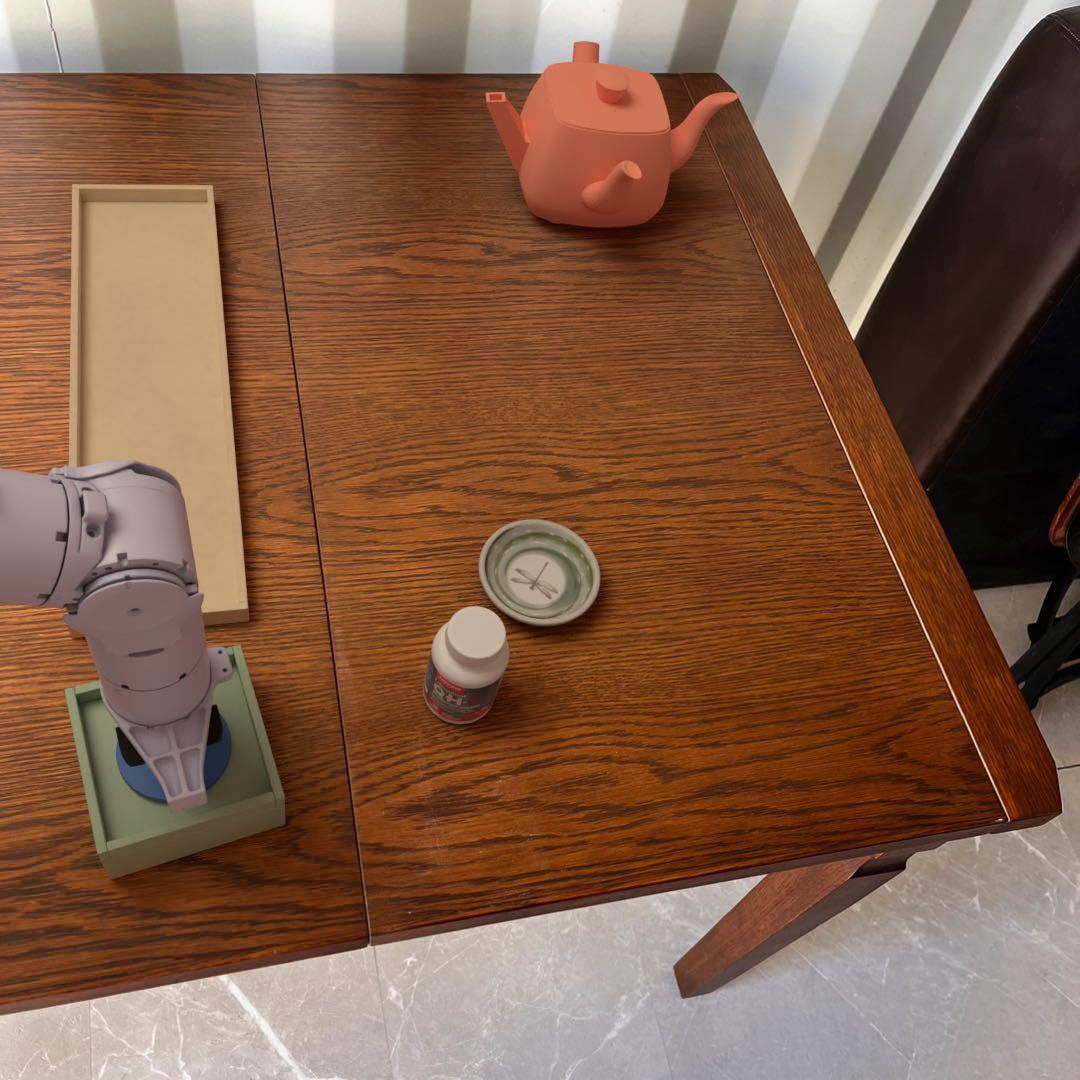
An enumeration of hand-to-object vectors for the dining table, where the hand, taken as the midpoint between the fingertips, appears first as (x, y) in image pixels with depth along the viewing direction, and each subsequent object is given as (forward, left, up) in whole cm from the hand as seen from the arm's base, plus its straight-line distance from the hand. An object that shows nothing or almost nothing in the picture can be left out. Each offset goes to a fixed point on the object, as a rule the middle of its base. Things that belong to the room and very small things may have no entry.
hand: (172, 740), depth 68 cm
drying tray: (+5, +33, -6) cm, 34 cm away
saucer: (+29, +7, -6) cm, 30 cm away
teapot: (+52, +49, -6) cm, 72 cm away
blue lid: (0, 0, -2) cm, 2 cm away
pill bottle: (+20, 0, -6) cm, 21 cm away
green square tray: (0, 0, -6) cm, 6 cm away
